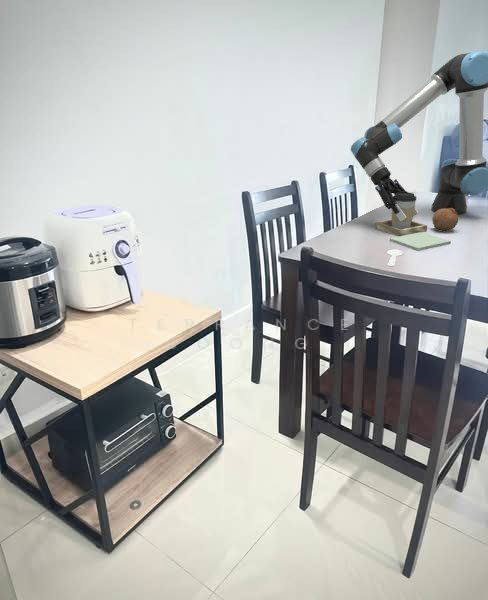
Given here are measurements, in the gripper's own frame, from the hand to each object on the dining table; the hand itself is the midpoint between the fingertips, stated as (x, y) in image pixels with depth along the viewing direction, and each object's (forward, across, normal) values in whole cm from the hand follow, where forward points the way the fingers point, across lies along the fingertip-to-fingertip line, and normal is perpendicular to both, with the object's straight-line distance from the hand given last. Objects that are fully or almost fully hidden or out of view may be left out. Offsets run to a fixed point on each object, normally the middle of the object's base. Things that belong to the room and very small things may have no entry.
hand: (409, 217), depth 174 cm
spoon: (+13, +32, +4) cm, 35 cm away
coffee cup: (+2, 0, -6) cm, 7 cm away
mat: (+11, +11, +3) cm, 16 cm away
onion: (+11, -10, +3) cm, 16 cm away
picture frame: (+2, 0, -6) cm, 7 cm away
